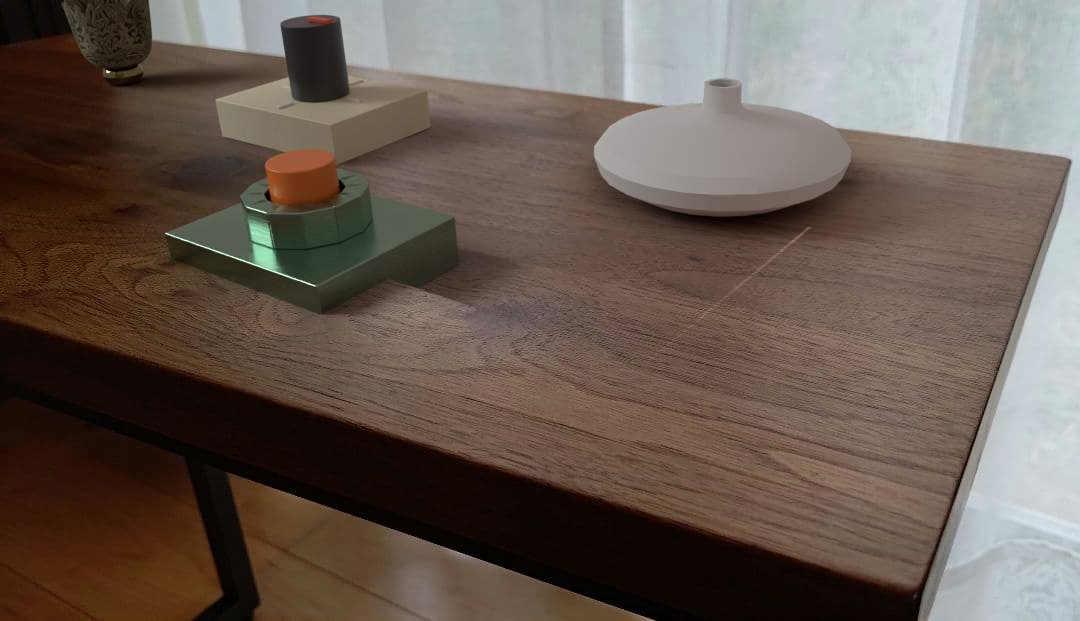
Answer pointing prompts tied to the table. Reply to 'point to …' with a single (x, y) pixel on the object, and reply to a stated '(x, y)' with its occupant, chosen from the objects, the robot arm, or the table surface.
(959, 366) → the table surface
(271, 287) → the button base
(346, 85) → the dial
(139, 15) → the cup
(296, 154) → the orange push button
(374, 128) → the dial panel
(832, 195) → the table surface
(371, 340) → the table surface
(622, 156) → the vase
